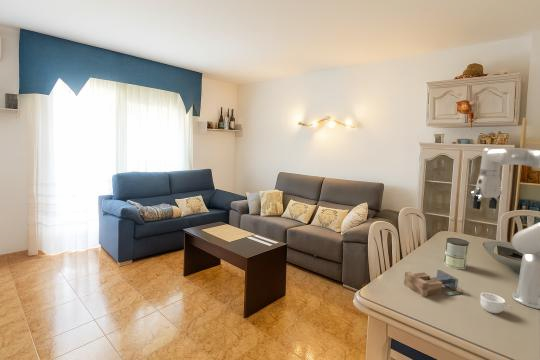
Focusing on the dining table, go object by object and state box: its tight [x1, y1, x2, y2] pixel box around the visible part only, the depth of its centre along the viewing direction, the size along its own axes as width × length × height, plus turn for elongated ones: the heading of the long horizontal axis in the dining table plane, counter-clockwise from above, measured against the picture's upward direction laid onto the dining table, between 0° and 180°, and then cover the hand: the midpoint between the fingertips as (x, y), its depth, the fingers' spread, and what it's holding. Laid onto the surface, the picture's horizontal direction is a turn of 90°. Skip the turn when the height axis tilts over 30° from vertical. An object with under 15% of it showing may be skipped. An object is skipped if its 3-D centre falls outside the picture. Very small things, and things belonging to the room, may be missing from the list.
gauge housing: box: [403, 271, 463, 298], centre depth 131 cm, size 13×20×6 cm, turn 106°
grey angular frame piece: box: [428, 269, 462, 292], centre depth 132 cm, size 12×10×5 cm
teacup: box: [479, 292, 513, 314], centre depth 115 cm, size 10×8×5 cm
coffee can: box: [443, 237, 470, 270], centre depth 158 cm, size 10×10×14 cm
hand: (484, 208), depth 141 cm, fingers open, 9 cm apart
